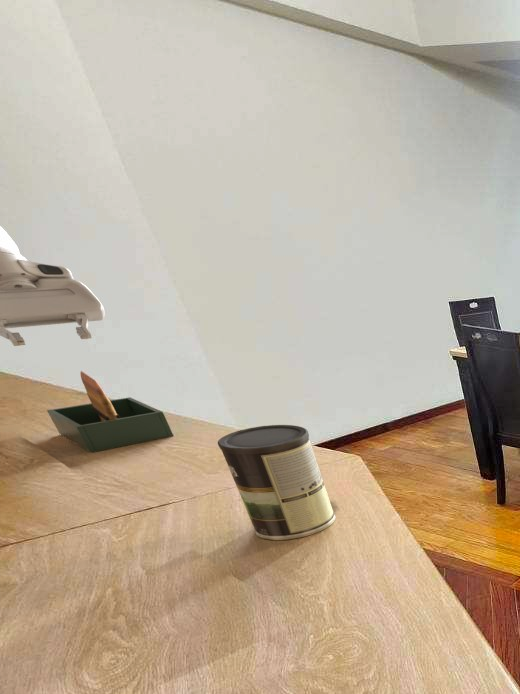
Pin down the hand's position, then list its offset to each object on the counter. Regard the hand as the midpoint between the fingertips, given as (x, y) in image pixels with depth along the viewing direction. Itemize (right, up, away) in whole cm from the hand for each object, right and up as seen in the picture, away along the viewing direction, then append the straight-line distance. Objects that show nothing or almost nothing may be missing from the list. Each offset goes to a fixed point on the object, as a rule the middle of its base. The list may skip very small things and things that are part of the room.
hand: (54, 340), depth 115 cm
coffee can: (+67, -38, -26) cm, 82 cm away
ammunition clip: (+9, -18, +3) cm, 21 cm away
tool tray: (+9, -18, +3) cm, 21 cm away
